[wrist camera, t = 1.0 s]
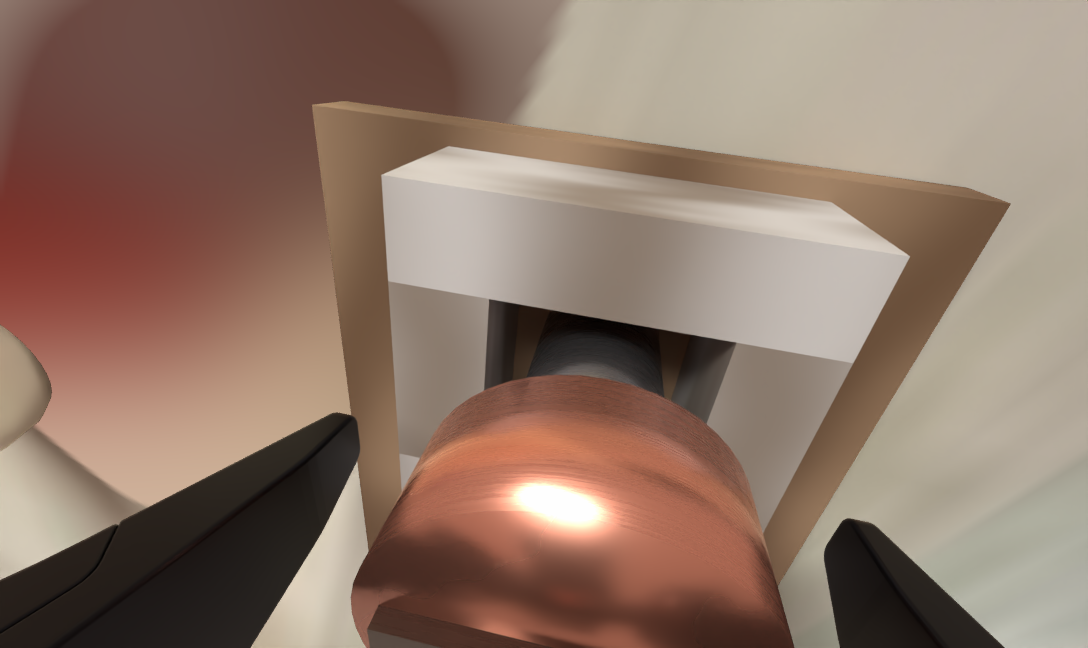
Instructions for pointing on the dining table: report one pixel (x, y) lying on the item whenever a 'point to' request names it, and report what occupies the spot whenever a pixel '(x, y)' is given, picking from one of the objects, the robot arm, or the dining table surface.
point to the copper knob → (573, 516)
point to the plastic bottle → (20, 389)
